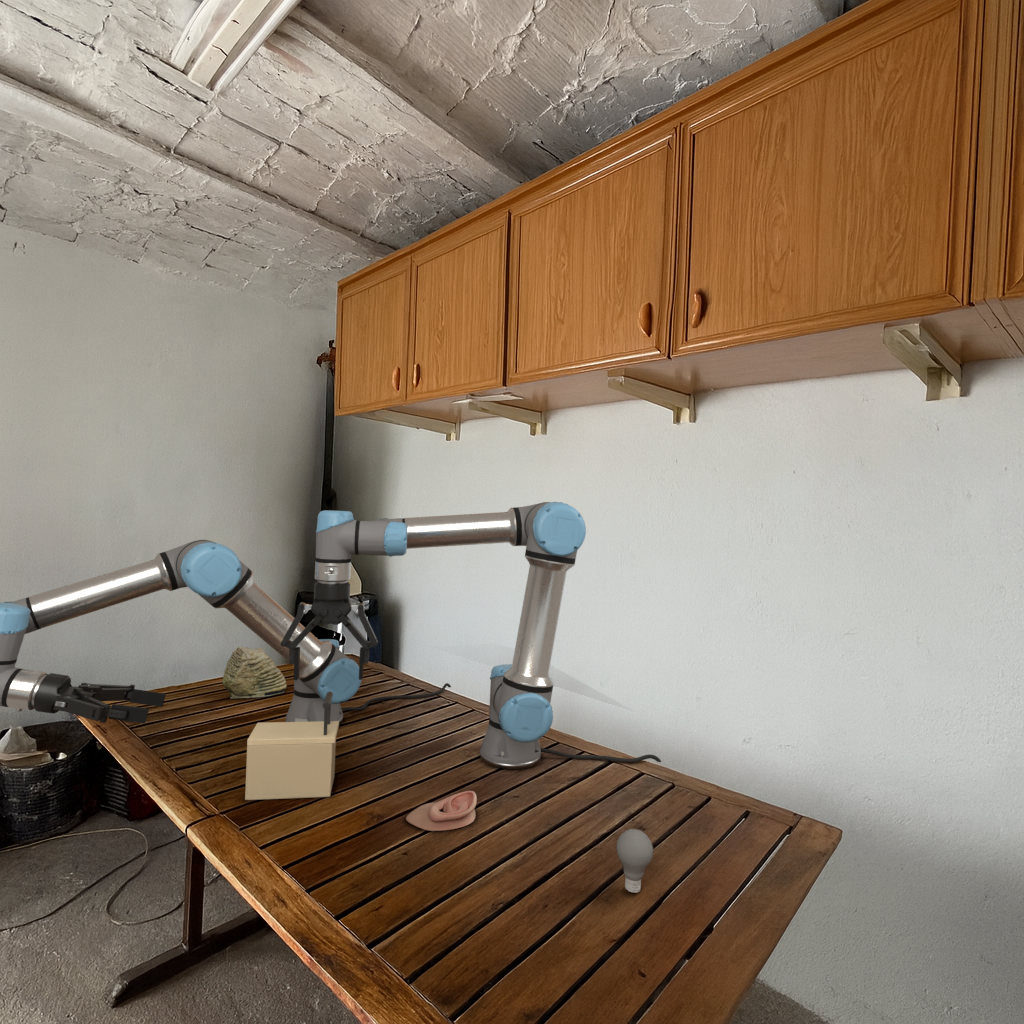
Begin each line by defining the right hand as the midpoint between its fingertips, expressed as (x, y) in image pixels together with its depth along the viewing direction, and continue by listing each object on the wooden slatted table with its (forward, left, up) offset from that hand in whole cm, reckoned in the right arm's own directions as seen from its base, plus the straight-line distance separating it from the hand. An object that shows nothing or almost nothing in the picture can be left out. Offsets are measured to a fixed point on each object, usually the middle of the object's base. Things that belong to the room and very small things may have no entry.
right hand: (328, 678), depth 138 cm
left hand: (+34, -9, -6) cm, 35 cm away
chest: (+7, -2, -24) cm, 25 cm away
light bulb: (-42, +55, -24) cm, 74 cm away
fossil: (+12, -70, -24) cm, 75 cm away
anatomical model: (-20, +22, -24) cm, 38 cm away
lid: (+6, -2, -12) cm, 14 cm away
